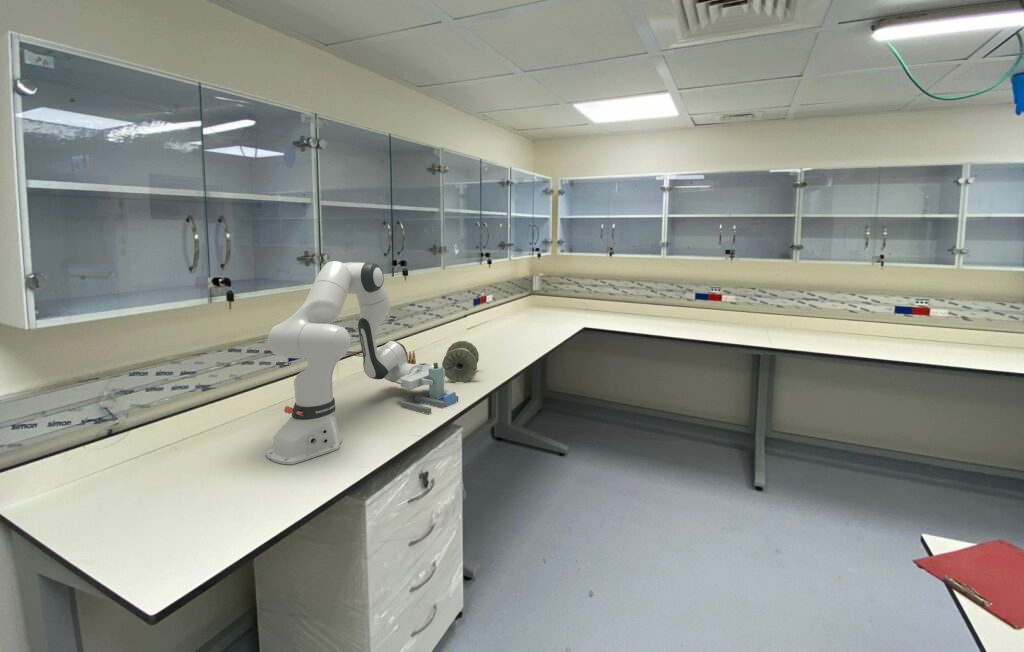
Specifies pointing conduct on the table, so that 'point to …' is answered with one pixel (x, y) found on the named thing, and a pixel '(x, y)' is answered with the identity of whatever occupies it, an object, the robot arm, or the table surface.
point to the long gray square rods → (430, 402)
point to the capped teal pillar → (436, 382)
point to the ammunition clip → (411, 358)
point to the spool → (460, 361)
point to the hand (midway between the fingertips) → (438, 380)
